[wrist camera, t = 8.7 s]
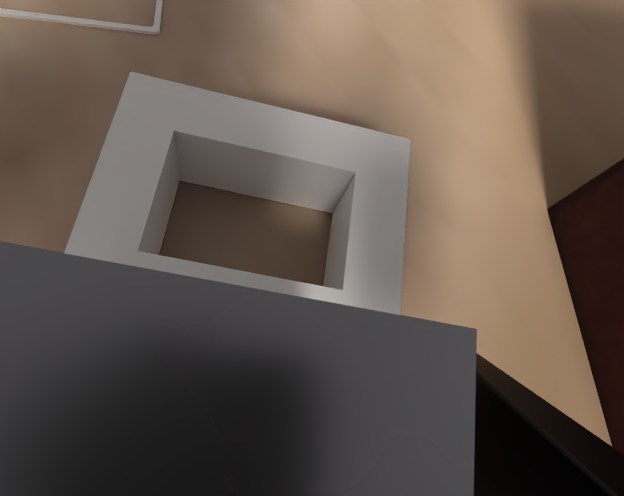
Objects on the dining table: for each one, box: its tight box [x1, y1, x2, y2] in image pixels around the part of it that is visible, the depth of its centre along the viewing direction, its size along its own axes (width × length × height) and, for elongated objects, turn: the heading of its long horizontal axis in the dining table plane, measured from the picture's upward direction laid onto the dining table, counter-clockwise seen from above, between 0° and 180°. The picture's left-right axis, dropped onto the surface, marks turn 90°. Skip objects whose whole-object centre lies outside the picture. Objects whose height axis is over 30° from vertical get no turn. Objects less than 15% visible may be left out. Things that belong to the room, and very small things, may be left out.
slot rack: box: [64, 71, 411, 315], centre depth 15 cm, size 22×12×4 cm, turn 172°
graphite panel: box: [0, 242, 477, 496], centre depth 10 cm, size 3×5×13 cm, turn 83°
